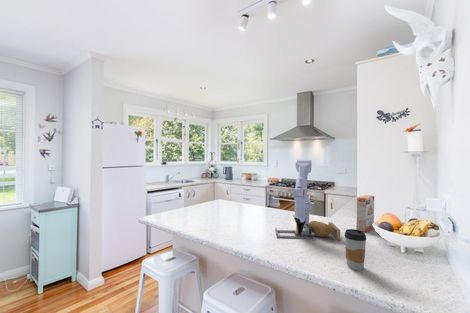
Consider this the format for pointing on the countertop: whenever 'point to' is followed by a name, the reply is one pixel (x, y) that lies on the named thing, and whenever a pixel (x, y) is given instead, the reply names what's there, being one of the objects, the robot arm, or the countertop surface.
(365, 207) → the cracker box
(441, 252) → the countertop surface
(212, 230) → the countertop surface
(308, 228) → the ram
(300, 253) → the countertop surface
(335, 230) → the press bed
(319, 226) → the potato
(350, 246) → the coffee cup
